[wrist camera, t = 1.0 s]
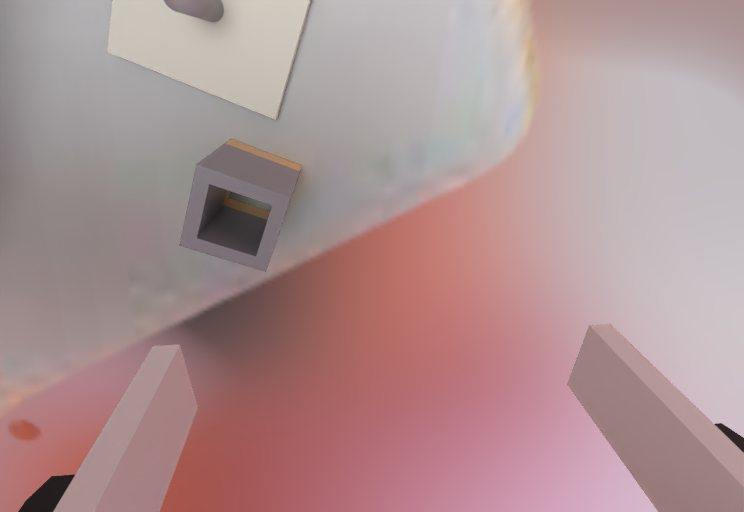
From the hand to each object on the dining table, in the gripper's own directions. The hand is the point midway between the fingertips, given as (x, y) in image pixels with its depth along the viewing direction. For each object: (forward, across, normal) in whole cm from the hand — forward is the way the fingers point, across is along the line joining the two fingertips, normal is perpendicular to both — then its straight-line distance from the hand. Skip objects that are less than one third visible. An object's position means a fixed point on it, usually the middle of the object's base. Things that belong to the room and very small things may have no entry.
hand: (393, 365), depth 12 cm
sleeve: (+18, -7, 0) cm, 19 cm away
